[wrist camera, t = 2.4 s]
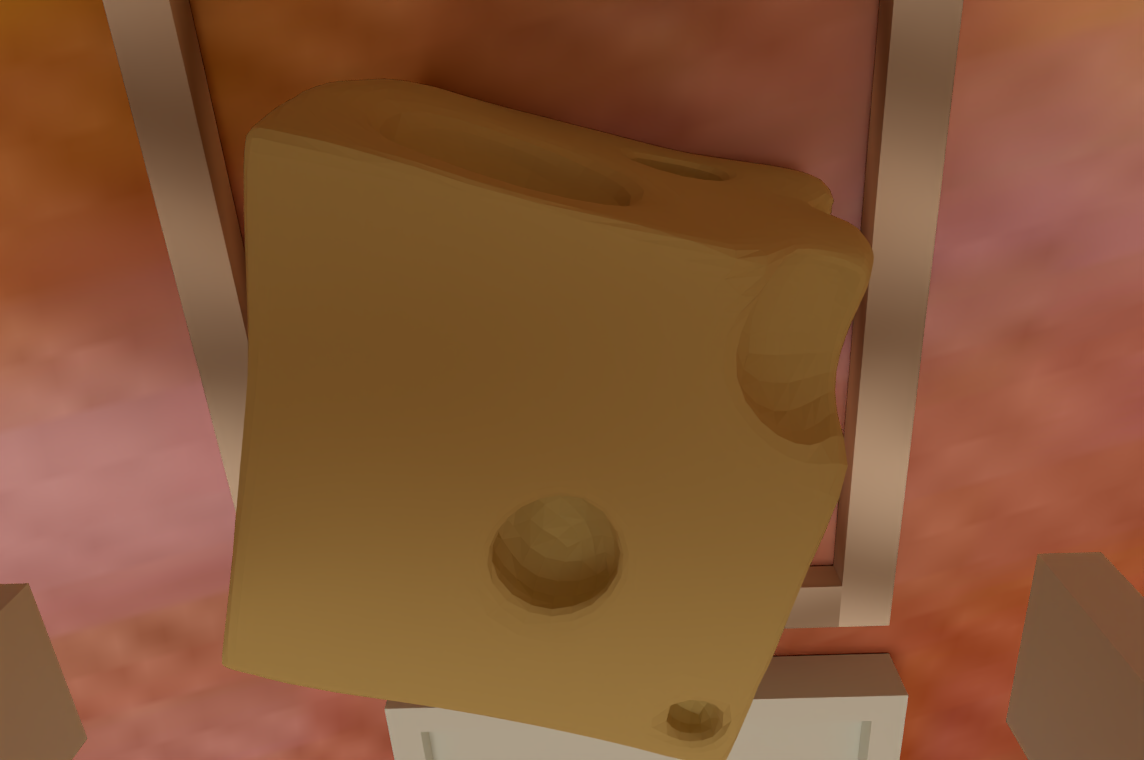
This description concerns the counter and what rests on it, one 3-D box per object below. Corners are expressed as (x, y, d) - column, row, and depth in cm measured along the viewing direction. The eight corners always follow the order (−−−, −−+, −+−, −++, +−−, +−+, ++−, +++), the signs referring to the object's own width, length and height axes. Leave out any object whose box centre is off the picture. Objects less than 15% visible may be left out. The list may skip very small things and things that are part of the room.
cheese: (806, 164, 21) (973, 284, 12) (681, 519, 25) (730, 809, 16) (394, 57, 20) (225, 96, 11) (337, 441, 24) (182, 701, 15)
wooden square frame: (104, -83, 19) (79, -88, 18) (961, -144, 18) (981, -153, 17) (281, 622, 27) (270, 643, 26) (879, 603, 26) (889, 625, 25)
